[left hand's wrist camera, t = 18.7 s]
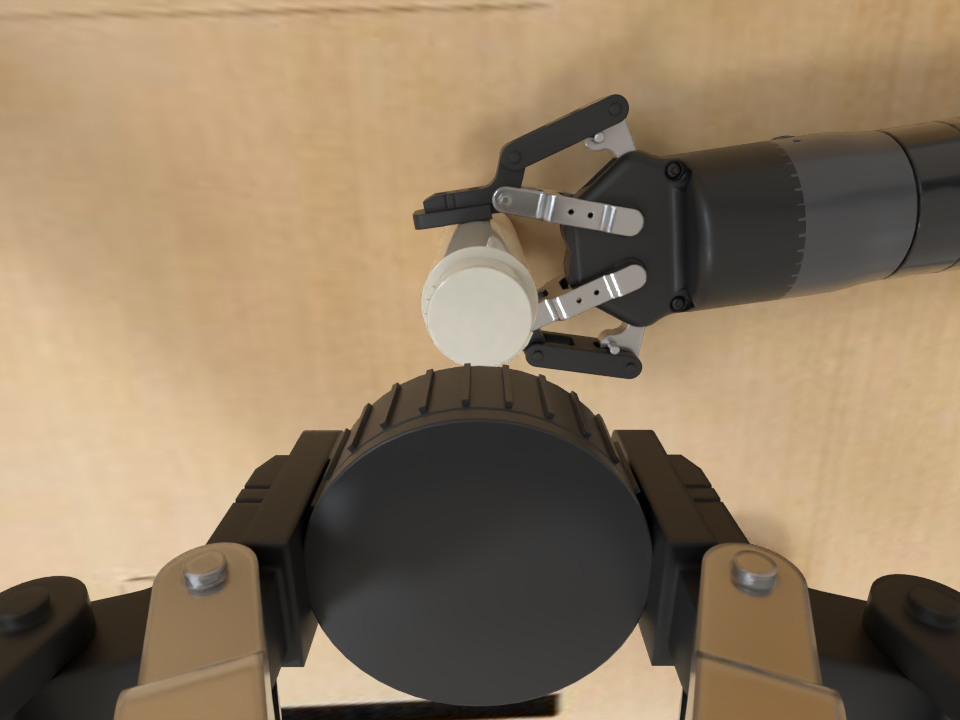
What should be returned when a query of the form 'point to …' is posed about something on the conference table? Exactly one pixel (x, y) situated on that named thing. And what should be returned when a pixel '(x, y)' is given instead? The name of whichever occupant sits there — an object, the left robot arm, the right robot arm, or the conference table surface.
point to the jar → (480, 293)
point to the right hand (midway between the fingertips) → (426, 271)
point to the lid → (478, 539)
